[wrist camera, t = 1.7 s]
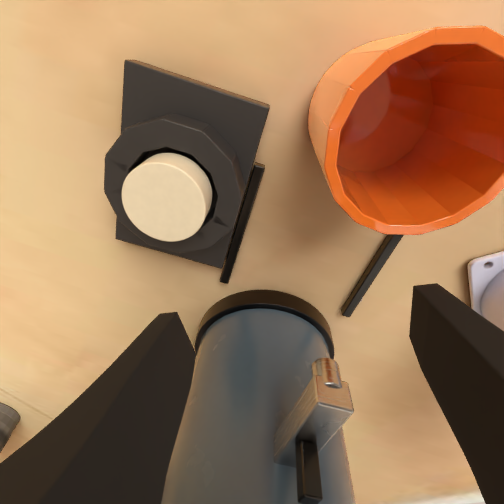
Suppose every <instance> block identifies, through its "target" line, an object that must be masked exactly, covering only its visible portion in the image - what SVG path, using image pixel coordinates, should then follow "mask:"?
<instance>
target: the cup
mask: <svg viewBox="0 0 504 504" xmlns="http://www.w3.org/2000/svg"><path fill="white" fill-rule="evenodd" d="M308 131H309V135H310V139H311V142H312V145H313V148H314V151H315V154H316V156H317V159H318V161H319V164H320V166H321V169H322V171H323V174H324V176H325V178H326V181H327V183H328V186H329V188H330V191H331V193H332V196H333V198H334V200H335V201H336V202H337V203H338V205H339V206H340V207H341V208H342V209H343V210H344V211H345V212H346V213H347V214H348V215H349V216H350V217H351V218H352V219H353V220H354V221H355V222H356V223H358V224H361V225H363V226H366V227H368V228H371V229H373V230H375V231H378V232H380V233H383V234H398V235H419V234H424V233H427V232H431V231H434V230H437V229H441V228H444V227H447V226H451V225H454V224H455V223H458V222H460V221H461V220H463V219H464V218H466V217H468V216H469V215H471V214H472V213H474V212H475V211H477V210H479V209H480V208H482V207H483V206H485V205H486V204H488V203H490V202H491V201H492V200H493V199H494V198H495V197H496V196H497V195H498V193H499V192H500V191H501V190H502V189H503V188H504V36H503V35H501V34H499V33H497V32H495V31H493V30H492V29H490V28H488V27H486V26H451V27H434V28H430V29H425V30H421V31H416V32H412V33H407V34H402V35H398V36H393V37H389V38H384V39H380V40H375V41H371V42H369V43H367V44H365V45H362V46H360V47H357V48H355V49H353V50H351V51H349V52H348V53H346V54H345V55H343V56H342V57H341V58H339V59H338V60H337V61H336V62H335V63H334V64H333V65H332V66H331V67H330V68H329V69H328V70H327V71H326V73H325V74H324V75H323V77H322V78H321V80H320V81H319V83H318V85H317V87H316V89H315V91H314V94H313V96H312V99H311V103H310V107H309V114H308Z"/></svg>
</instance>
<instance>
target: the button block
mask: <svg viewBox="0 0 504 504" xmlns="http://www.w3.org/2000/svg"><path fill="white" fill-rule="evenodd" d="M269 107H270V105H268V104H265V103H262V102H259V101H256V100H253V99H250V98H247V97H244V96H241V95H238V94H235V93H232V92H229V91H226V90H223V89H220V88H217V87H214V86H211V85H208V84H205V83H202V82H199V81H197V80H194V79H191V78H188V77H185V76H182V75H179V74H176V73H173V72H170V71H167V70H164V69H161V68H158V67H155V66H152V65H149V64H146V63H143V62H140V61H137V60H125V64H124V84H123V103H122V123H121V135H120V137H119V138H118V139H117V141H116V142H115V143H114V144H113V146H112V147H111V148H110V150H109V151H108V152H107V154H106V157H105V178H104V190H105V191H104V192H105V194H106V196H107V198H108V200H109V202H110V204H111V206H112V208H113V210H114V211H115V213H116V215H117V221H116V239H118V240H122V241H125V242H129V243H132V244H136V245H139V246H143V247H147V248H150V249H154V250H157V251H161V252H164V253H168V254H172V255H175V256H179V257H182V258H186V259H189V260H193V261H197V262H200V263H204V264H207V265H211V266H214V267H218V268H222V267H223V264H224V260H225V257H226V254H227V250H228V247H229V243H230V240H231V237H232V233H233V230H234V226H235V223H236V220H237V216H238V213H239V210H240V206H241V203H242V199H243V196H244V193H245V189H246V186H247V182H248V179H249V176H250V172H251V169H252V166H253V162H254V159H255V155H256V152H257V149H258V145H259V142H260V138H261V135H262V132H263V128H264V125H265V122H266V118H267V115H268V111H269ZM160 153H176V154H180V155H182V156H185V157H187V158H189V159H191V160H192V161H194V162H195V163H196V164H197V165H198V166H199V167H200V168H201V169H202V170H203V171H204V173H205V174H206V176H207V177H208V179H209V182H210V184H211V188H212V204H211V207H210V209H209V211H208V214H207V216H206V218H205V220H204V222H203V224H202V226H201V227H200V229H199V230H198V231H197V232H196V233H195V234H194V235H192V236H191V237H189V238H187V239H184V240H181V241H174V242H169V241H162V240H158V239H155V238H152V237H150V236H148V235H147V234H145V233H143V232H142V231H141V230H139V229H138V228H137V227H136V226H135V225H134V224H133V223H132V221H131V220H130V219H129V217H128V215H127V214H126V212H125V209H124V206H123V203H122V187H123V183H124V181H125V179H126V177H127V176H128V174H129V173H130V172H131V171H132V170H133V169H135V168H136V167H137V166H139V165H140V164H141V163H143V162H144V161H145V160H147V159H148V158H149V157H151V156H153V155H156V154H160Z"/></svg>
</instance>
